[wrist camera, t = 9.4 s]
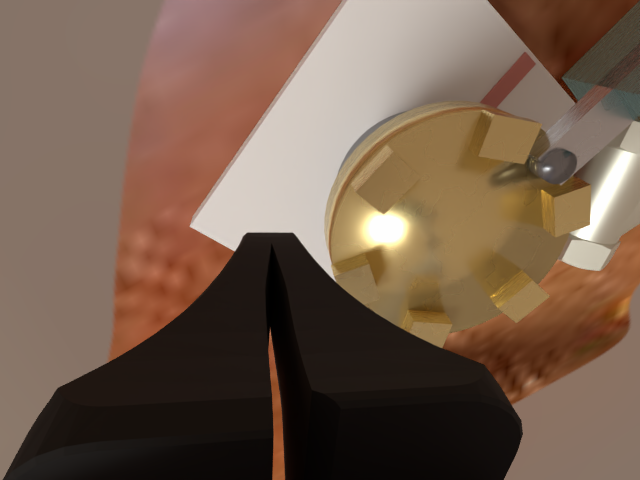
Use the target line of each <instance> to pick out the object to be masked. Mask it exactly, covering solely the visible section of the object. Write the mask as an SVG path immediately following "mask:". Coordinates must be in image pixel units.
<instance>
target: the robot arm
mask: <svg viewBox="0 0 640 480" xmlns="http://www.w3.org/2000/svg"><path fill="white" fill-rule="evenodd" d="M270 329H271V336H272V343H273V350H274V357H275V363H276V370H277V377H278V383H279V390H280V397H281V407H282V420H283V441H284V463H285V480H504V478H505V476H506V474H507V472H508V470H509V468H510V466H511V463H512V462H513V460H514V457H515V455H516V453H517V451H518V448H519V445H520V440H521V438H522V435H523V432H522V423H521V419H520V418H519V416H518V415H517V413H516V412H515V410H514V408H513V407H512V405H511V403H510V402H509V400H508V398H507V397H506V395H505V394H504V392H503V390H502V389H501V387H500V386H499V384H498V383H497V381H496V380H495V379H494V377H493V376H492V375H491V373H490V372H489V371H488V369H487V368H486V367H485V365H483V364H481V363H478V362H476V361H473V360H470V359H468V358H465V357H463V356H460V355H458V354H455V353H453V352H450V351H448V350H445V349H443V348H440V347H438V346H436V345H433V344H431V343H429V342H427V341H425V340H423V339H421V338H419V337H417V336H415V335H413V334H411V333H409V332H407V331H405V330H403V329H402V328H400V327H398V326H396V325H394V324H393V323H391V322H390V321H388V320H386V319H385V318H383V317H381V316H380V315H378V314H376V313H375V312H374V311H372V310H371V309H369V308H368V307H366V306H365V305H364V304H362V303H361V302H360V301H358V300H357V299H356V298H354V297H353V296H352V295H350V294H349V293H348V292H347V291H345V290H344V289H343V288H342V287H341V286H340V285H339V284H338V283H337V282H335V281H334V280H333V279H332V278H331V277H330V276H329V275H328V274H327V273H326V271H325V270H324V269H323V268H322V267H321V266H320V265H319V264H318V263H317V262H316V260H315V259H314V258H313V257H312V256H311V254H310V253H309V252H308V251H307V249H306V248H305V247H304V246H303V244H302V243H301V242H300V240H299V239H298V237H297V236H296V235H295V234H294V233H279V232H247V233H246V234H245V235H244V236H243V237H242V240H241V242H240V244H239V246H238V247H237V249H236V251H235V252H234V254H233V256H232V257H231V259H230V260H229V261H228V263H227V264H226V266H225V267H224V268H223V270H222V271H221V272H220V274H219V275H218V276H217V277H216V278H215V280H214V281H213V282H212V283H211V284H210V285H209V287H208V288H207V289H206V290H205V291H204V292H203V293H202V294H201V295H200V296H199V297H198V298H197V299H196V300H195V301H194V302H193V303H192V304H191V305H190V306H189V307H188V308H187V309H186V310H185V311H184V312H183V313H181V314H180V315H179V316H178V317H176V318H175V319H174V320H173V321H171V322H170V323H169V324H168V325H166V326H165V327H164V328H162V329H161V330H160V331H158V332H157V333H156V334H154V335H153V336H151V337H150V338H148V339H147V340H145V341H144V342H142V343H141V344H139V345H137V346H136V347H134V348H132V349H131V350H129V351H127V352H126V353H124V354H123V355H121V356H119V357H117V358H116V359H114V360H112V361H110V362H109V363H107V364H105V365H103V366H101V367H99V368H97V369H95V370H93V371H91V372H89V373H87V374H85V375H83V376H81V377H79V378H77V379H75V380H74V381H71V382H69V383H67V384H65V385H63V386H61V387H59V388H58V389H57V390H56V391H55V393H54V395H53V396H52V398H51V399H50V401H49V402H48V403H47V405H46V406H45V408H44V409H43V410H42V412H41V413H40V415H39V416H38V418H37V419H36V421H35V423H34V424H33V426H32V427H31V429H30V431H29V432H28V434H27V436H26V438H25V440H24V442H23V443H22V445H21V447H20V449H19V451H18V453H17V454H16V456H15V458H14V460H13V462H12V464H11V466H10V467H9V469H8V471H7V473H6V475H5V477H4V479H3V480H272V469H273V409H272V391H271V380H270V368H269V355H268V346H269V333H270Z"/></svg>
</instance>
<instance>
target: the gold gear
mask: <svg viewBox="0 0 640 480" xmlns="http://www.w3.org/2000/svg"><path fill="white" fill-rule="evenodd" d="M561 78H562V79H563V80H564V82H565V83H566V85H567V86H568V87H569V89H570V90H571V92H572V93H573V94H574V96H575V97H576V99H577V100H578V102H577V103H576V104H575V105H574V106H573V107H572V108H570V109H569V110H568V111H567V112H566V113H565V114H564V115H563V116H562V117H561V118H560V119H559V120H558V121H557V122H556V123H555V124H554V125H553V126H551V127H550V128H549V129H548V130H547V131H546V132H545V131H544V130H542V129H541V126H542V124H541V123H539V122H536V121H534V120H531V119H529V118H524V117H519V116H515V115H512V114H510V113H508V112H505V111H503V110H500V109H498V108H495V107H493V106H489V105H486V104H482V103H479V102H471V101H443V102H437V103H431V104H427V105H424V106H421V107H417V108H414V109H412V110H409V111H407V112H405V113H403V114H400V115H398V116H396V117H395V118H393V119H391V120H390V121H388V122H386V123H385V124H383V125H382V126H380V127H379V128H378V129H376V130H375V131H374V132H373V133H371V134H370V135H369V136H368V137H367V138H366V139H365V140H364V141H363V142H362V143H361V144H360V145H359V146H358V147H357V148H356V149H355V150H354V151H353V153H352V154H351V155H350V156H349V158H348V159H347V160H346V161H345V163H344V165H343V166H342V168H341V170H340V171H339V173H338V175H337V177H336V179H335V181H334V183H333V186H332V188H331V190H330V194H329V197H328V201H327V204H326V211H325V217H324V233H325V240H326V246H327V249H328V253H329V256H330V259H331V263H332V265H331V268H332V271H333V275H334V278H335V280H336V282H337V283H338V284H339V285H340V286H341V287H342V288H343V289H344V290H345V291H347V292H348V293H349V294H350V295H352V296H353V297H354V298H356V299H357V300H358V301H360V302H361V303H362V304H364V305H365V306H366V307H368V308H369V309H371V310H372V311H374V312H375V313H376V314H378V315H380V316H381V317H383V318H385V319H386V320H388V321H390V322H391V323H393V324H394V325H396V326H398V327H400V328H402V329H403V330H405V331H407V332H409V333H411V334H413V335H415V336H417V337H419V338H421V339H423V340H425V341H427V342H429V343H431V344H433V345H436V346H438V347H440V348H442V347H443V345H444V343H445V341H446V338H447V336H448V334H449V333H452V332H458V331H461V330H464V329H468V328H471V327H474V326H476V325H479V324H481V323H484V322H486V321H488V320H490V319H492V318H494V317H496V316H498V315H500V314H501V313H504V314H506V315H507V316H508V317H509V318H511V319H512V320H513V321H514V322H515V323H517V322H519V321H520V320H521V319H522V318H524V317H525V316H526V315H527V314H529V313H530V312H531V311H532V310H534V309H535V308H536V307H537V306H539V305H540V304H541V303H542V302H544V301H545V300H546V299H547V298H549V297H550V296H549V295H548V294H547V293H546V292H545V291H544V290H543V289H542V288H541V287H540V286H539V285H538V284H539V283H540V281H541V280H542V279H543V278H544V277H545V276H546V274H547V273H548V272H549V271H550V269H551V268H552V267H553V265H554V264H555V262H556V260H557V259H558V257H559V256H560V254H561V252H562V250H563V248H564V246H565V244H566V242H567V240H568V237H569V234H570V232H572V231H575V230H578V229H581V228H584V227H587V226H589V225H590V216H591V184H589V183H587V182H585V181H583V180H581V179H579V178H577V177H575V178H574V174H575V173H576V172H577V171H578V170H579V169H580V168H581V167H583V166H584V165H585V164H586V163H587V162H588V161H589V160H590V159H592V158H593V157H594V156H595V155H596V154H597V153H598V152H599V151H601V150H602V149H603V148H604V147H605V146H606V145H607V144H608V143H610V142H611V141H612V140H613V139H614V138H615V137H616V136H617V135H619V134H620V133H621V132H622V131H623V130H624V129H625V128H626V127H628V126H629V125H630V124H631V123H632V122H633V121H636V122H640V1H639V2H638V3H637V4H636V5H635V6H634V7H633V8H632V9H631V10H629V11H628V12H627V13H626V14H625V15H624V16H623V17H622V18H621V19H620V20H619V21H618V22H617V23H616V24H615V25H614V26H613V27H612V28H611V29H610V30H609V31H608V32H607V33H606V34H605V35H604V36H603V37H602V38H601V39H600V40H599V41H598V42H597V43H596V44H595V45H594V46H593V47H592V48H591V49H590V50H589V51H588V52H587V53H586V54H585V55H584V56H583V57H582V58H581V59H580V60H579V61H578V62H577V63H575V64H574V65H573V66H572V67H571V68H570V69H569V70H568V71H567V72H566V73H565V74H564V75H563V76H562V77H561Z"/></svg>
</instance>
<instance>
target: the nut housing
mask: <svg viewBox="0 0 640 480" xmlns="http://www.w3.org/2000/svg"><path fill="white" fill-rule="evenodd" d="M443 101H471V102H479V103H482V104H486V105H489V106H493V107H495V108H498V109H500V110H503V111H505V112H508V113H510V114H512V115H515V116H519V117H524V118H529V119H531V120H534V121H536V122H539V123H541V124H542V126H541V129H542V130H544V131H545V132H546V131H547V130H548V129H549V128H550V127H551V126H553V125H554V124H555V123H556V122H557V121H558V120H559V119H560V118H561V117H562V116H563V115H564V114H565V113H566V112H567V111H568V110H569V109H570V108H572V107H573V106H574V105H575V104H576V103H575V102H574V101H573V100H572V99H571V98H570V96H569V95H568V94H567V93H566V92H565V91H564V89H563V88H562V87H561V86H560V85H559V84H558V82H557V81H556V80H555V79H554V78H553V77H552V75H551V74H550V73H549V72H548V71H547V70H546V68H545V67H544V66H543V65H542V64H541V63H540V61H539V60H538V59H537V58H536V57H535V55H534V54H533V53H532V52H531V51H530V50H529V48H528V47H527V46H526V45H525V44H524V43H523V41H522V40H521V39H520V38H519V37H518V36H517V34H516V33H515V32H514V31H513V30H512V29H511V27H510V26H509V25H508V24H507V23H506V22H505V20H504V19H503V18H502V17H501V16H500V15H499V13H498V12H497V11H496V10H495V9H494V8H493V6H492V5H491V4H490V3H489V2H488V0H343V1H342V2H341V3H340V5H339V6H338V8H337V9H336V11H335V12H334V13H333V15H332V16H331V18H330V19H329V21H328V22H327V24H326V25H325V26H324V28H323V29H322V31H321V32H320V34H319V35H318V37H317V38H316V39H315V41H314V42H313V44H312V45H311V47H310V48H309V50H308V51H307V52H306V54H305V55H304V57H303V58H302V60H301V61H300V62H299V64H298V65H297V67H296V68H295V70H294V71H293V73H292V74H291V75H290V77H289V78H288V80H287V81H286V83H285V84H284V86H283V87H282V88H281V90H280V91H279V93H278V94H277V96H276V97H275V99H274V100H273V101H272V103H271V104H270V106H269V107H268V109H267V110H266V112H265V113H264V114H263V116H262V117H261V119H260V120H259V122H258V123H257V124H256V126H255V127H254V129H253V130H252V132H251V133H250V135H249V136H248V137H247V139H246V140H245V142H244V143H243V145H242V146H241V148H240V149H239V150H238V152H237V153H236V155H235V156H234V158H233V159H232V161H231V162H230V163H229V165H228V166H227V168H226V169H225V171H224V172H223V173H222V175H221V176H220V178H219V179H218V181H217V182H216V184H215V185H214V186H213V188H212V189H211V191H210V192H209V194H208V195H207V197H206V198H205V199H204V201H203V202H202V204H201V205H200V207H199V208H198V210H197V211H196V212H195V214H194V215H193V218H192V221H191V224H190V227H192V228H194V229H195V230H197V231H199V232H201V233H203V234H204V235H206V236H208V237H210V238H212V239H213V240H215V241H217V242H219V243H221V244H222V245H224V246H226V247H228V248H230V249H232V250H233V251H236V249H237V247H238V246H239V244H240V242H241V240H242V237H243V236H244V235H245V234H246V233H247V232H279V233H294V234H295V235H296V236H297V237H298V239H299V240H300V242H301V243H302V244H303V246H304V247H305V248H306V249H307V251H308V252H309V253H310V254H311V256H312V257H313V258H314V259H315V260H316V262H317V263H318V264H319V265H320V266H321V267H322V268H323V269H324V270H325V271H326V273H327V274H328V275H329V276H330V277H331V278H332V279H333V280H334V281H335V282H336V280H335V278H334V275H333V271H332V268H331V265H332V263H331V259H330V256H329V253H328V249H327V246H326V240H325V233H324V217H325V211H326V204H327V201H328V197H329V194H330V190H331V188H332V186H333V183H334V181H335V179H336V177H337V175H338V173H339V171H340V170H341V168H342V166H343V165H344V163H345V161H346V160H347V159H348V158H349V156H350V155H351V154H352V153H353V151H354V150H355V149H356V148H357V147H358V146H359V145H360V144H361V143H362V142H363V141H364V140H365V139H366V138H367V137H368V136H369V135H370V134H371V133H373V132H374V131H375V130H376V129H378V128H379V127H380V126H382V125H383V124H385V123H386V122H388V121H390V120H391V119H393V118H395V117H396V116H398V115H400V114H403V113H405V112H407V111H409V110H412V109H414V108H417V107H421V106H424V105H427V104H431V103H437V102H443Z"/></svg>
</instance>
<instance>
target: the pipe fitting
mask: <svg viewBox="0 0 640 480" xmlns="http://www.w3.org/2000/svg"><path fill="white" fill-rule="evenodd" d="M575 177H577V178H579V179H581V180H583V181H585V182H587V183H589V184H591V216H590V225H589V226H587V227H584V228H581V229H578V230H575V231H572V232H570V234H569V237H568V240H567V242H566V244H565V246H564V248H563V250H562V252H561V254H560V256H559V257H558V260H560V261H562V262H564V263H567V264H569V265H572V266H575V267H578V268H582V269H587V270H597V271H600V270H602V269H603V268H604V267H605V266H606V265H607V264H608V263H609V262H610V260H611V258H612V256H613V255H614V253H615V251H616V249H617V248H618V246H619V244H620V241H619V238H620V237H621V236H622V235H623V234H625V233H626V232H628V231H629V230H631V229H632V228H634V227H635V226H637V225H638V224H640V122H636V121H633V122H632V123H631V124H630V125H629V126H628V127H626V128H625V129H624V130H623V131H622V132H621V133H620V134H619V135H617V136H616V137H615V138H614V139H613V140H612V141H611V142H610V143H608V144H607V145H606V146H605V147H604V148H603V149H602V150H601V151H599V152H598V153H597V154H596V155H595V156H594V157H593V158H592V159H590V160H589V161H588V162H587V163H586V164H585V165H584V166H583V167H581V168H580V169H579V170H578V171H577V172H576V174H575V176H574V178H575Z"/></svg>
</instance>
